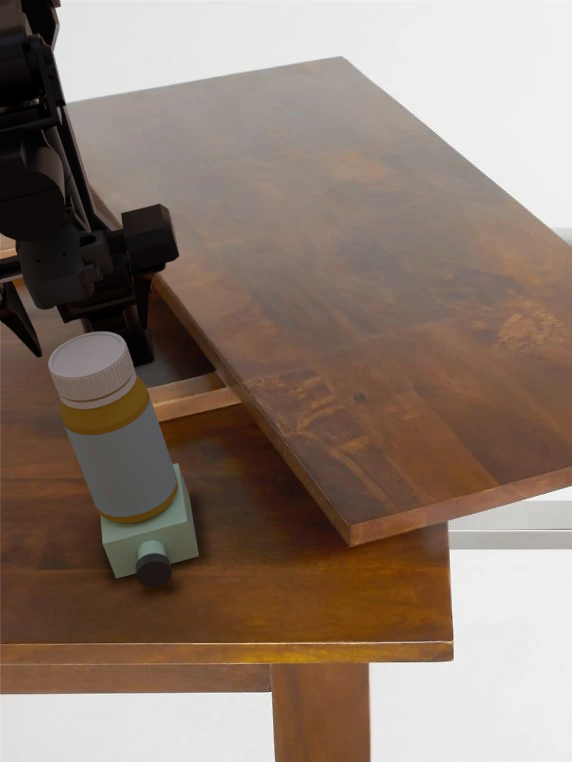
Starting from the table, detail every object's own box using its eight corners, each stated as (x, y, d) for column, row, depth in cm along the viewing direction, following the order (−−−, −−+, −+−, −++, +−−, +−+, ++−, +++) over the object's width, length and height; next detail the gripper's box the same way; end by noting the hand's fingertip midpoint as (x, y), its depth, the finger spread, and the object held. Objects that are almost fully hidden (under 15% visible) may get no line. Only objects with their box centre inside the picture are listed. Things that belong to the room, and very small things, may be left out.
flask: (111, 518, 120) (98, 483, 118) (189, 497, 121) (178, 462, 119) (118, 603, 112) (104, 568, 109) (202, 580, 112) (190, 544, 110)
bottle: (164, 528, 112) (113, 380, 103) (85, 527, 114) (28, 381, 105) (190, 472, 117) (143, 326, 108) (114, 472, 119) (62, 329, 110)
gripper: (-87, 258, 103) (-17, 422, 112) (158, 197, 104) (208, 364, 114) (-78, 192, 112) (-14, 349, 121) (148, 138, 113) (194, 297, 123)
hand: (92, 341), depth 119 cm, fingers open, 9 cm apart
